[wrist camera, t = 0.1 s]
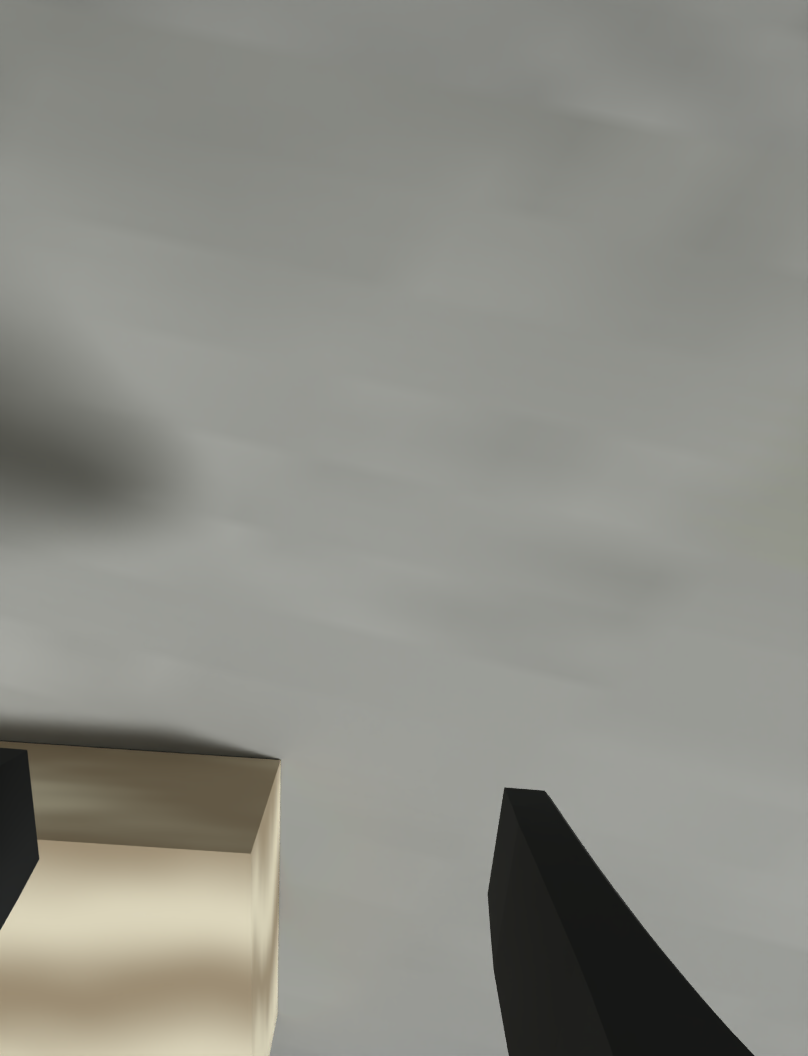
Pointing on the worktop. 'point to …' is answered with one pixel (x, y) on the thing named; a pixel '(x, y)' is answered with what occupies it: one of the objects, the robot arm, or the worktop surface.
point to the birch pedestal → (145, 907)
